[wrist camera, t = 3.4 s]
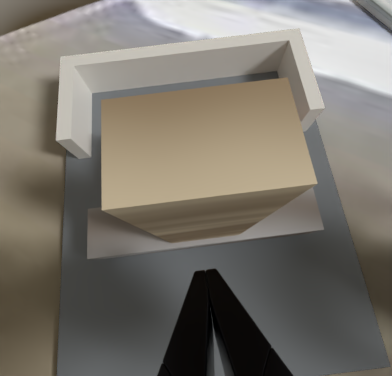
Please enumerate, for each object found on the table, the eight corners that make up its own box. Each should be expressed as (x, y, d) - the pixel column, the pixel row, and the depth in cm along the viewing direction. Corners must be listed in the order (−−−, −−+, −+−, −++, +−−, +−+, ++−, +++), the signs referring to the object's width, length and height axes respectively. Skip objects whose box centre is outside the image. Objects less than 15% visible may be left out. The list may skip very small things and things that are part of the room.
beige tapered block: (306, 233, 16) (594, 165, 4) (104, 258, 16) (-177, 261, 4) (295, 192, 17) (511, 38, 5) (103, 215, 17) (-131, 116, 5)
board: (384, 363, 15) (390, 366, 14) (60, 404, 14) (55, 409, 14) (292, 54, 21) (294, 49, 21) (72, 81, 21) (69, 77, 21)
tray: (306, 131, 19) (324, 107, 16) (78, 158, 19) (55, 140, 16) (285, 60, 21) (299, 28, 18) (80, 85, 21) (60, 56, 18)
